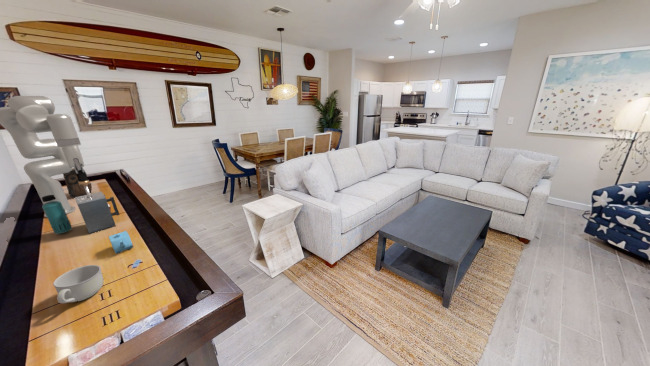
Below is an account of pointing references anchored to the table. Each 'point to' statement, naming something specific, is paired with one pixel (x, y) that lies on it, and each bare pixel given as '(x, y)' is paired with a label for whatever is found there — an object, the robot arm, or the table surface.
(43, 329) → the table surface
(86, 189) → the plunger
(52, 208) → the beverage bottle
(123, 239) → the printed blue cube
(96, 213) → the coffee press
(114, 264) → the table surface
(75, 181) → the owl
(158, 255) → the table surface
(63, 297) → the teacup
